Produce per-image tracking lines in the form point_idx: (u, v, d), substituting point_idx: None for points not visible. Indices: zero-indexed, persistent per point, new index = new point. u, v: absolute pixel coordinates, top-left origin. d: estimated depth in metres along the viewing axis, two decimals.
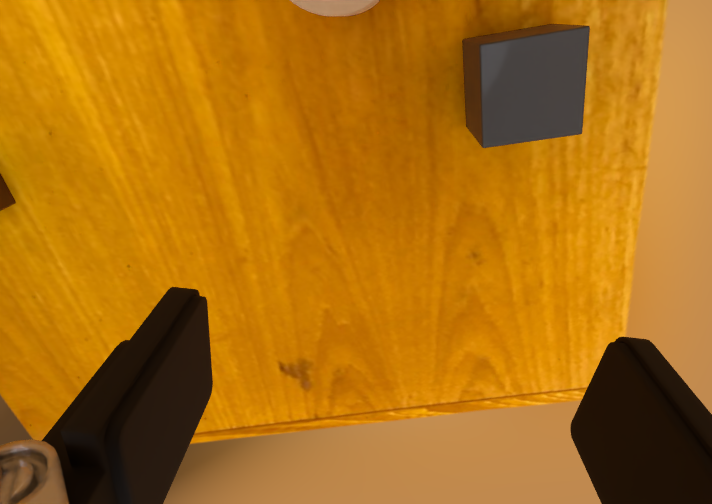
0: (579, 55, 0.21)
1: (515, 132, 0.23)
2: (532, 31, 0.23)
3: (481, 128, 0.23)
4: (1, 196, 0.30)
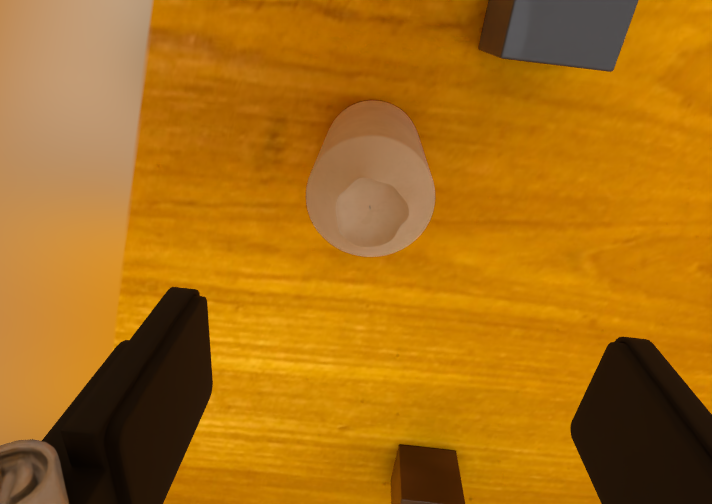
0: None
1: (614, 27, 0.19)
2: None
3: (589, 68, 0.20)
4: (448, 457, 0.38)
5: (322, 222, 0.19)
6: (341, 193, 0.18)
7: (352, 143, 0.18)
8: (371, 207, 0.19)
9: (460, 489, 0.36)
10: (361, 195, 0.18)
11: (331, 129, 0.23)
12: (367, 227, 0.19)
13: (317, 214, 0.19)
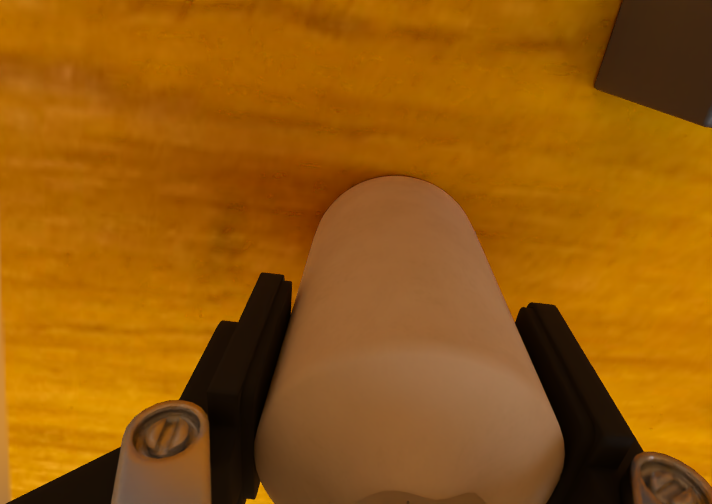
0: None
1: None
2: None
3: None
4: None
5: None
6: None
7: (365, 370, 0.07)
8: (411, 503, 0.08)
9: None
10: None
11: (319, 248, 0.12)
12: None
13: None
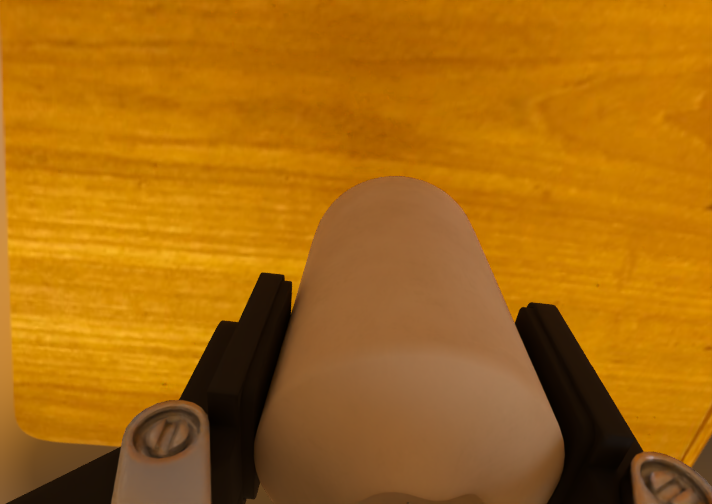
0: None
1: None
2: None
3: None
4: None
5: None
6: None
7: (365, 372, 0.07)
8: None
9: None
10: None
11: (319, 248, 0.12)
12: None
13: None
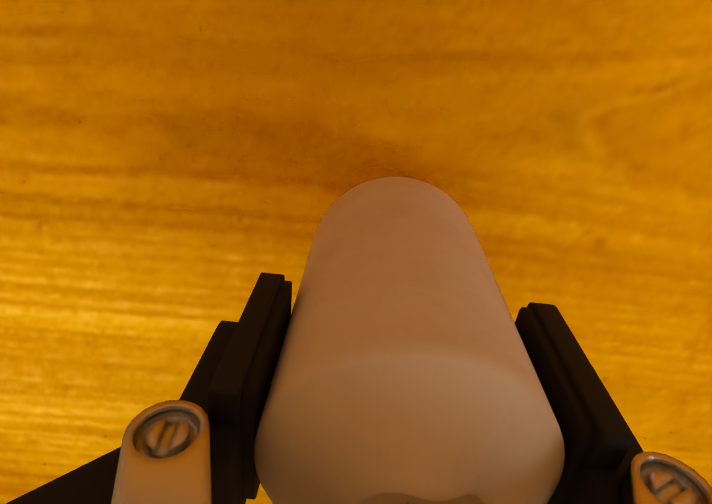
0: None
1: None
2: None
3: None
4: None
5: None
6: None
7: (365, 372, 0.07)
8: None
9: None
10: None
11: (319, 249, 0.12)
12: None
13: None
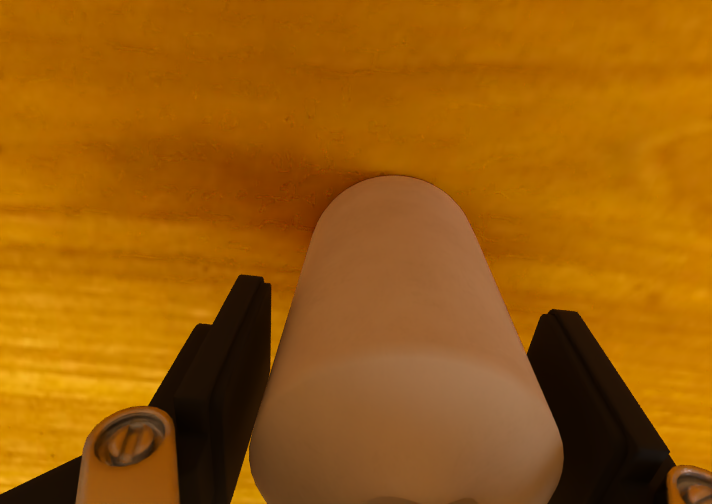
0: None
1: None
2: None
3: None
4: None
5: None
6: None
7: (362, 373, 0.07)
8: None
9: None
10: None
11: (317, 248, 0.12)
12: None
13: None
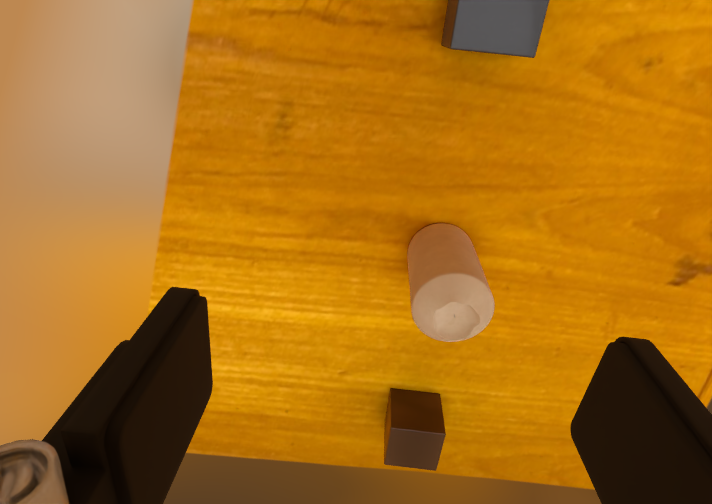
0: None
1: (532, 24, 0.25)
2: None
3: (517, 55, 0.26)
4: (432, 399, 0.44)
5: (422, 323, 0.30)
6: (438, 309, 0.29)
7: (444, 278, 0.29)
8: (454, 315, 0.30)
9: (442, 422, 0.42)
10: (449, 308, 0.29)
11: (418, 251, 0.34)
12: (451, 327, 0.30)
13: (419, 318, 0.30)
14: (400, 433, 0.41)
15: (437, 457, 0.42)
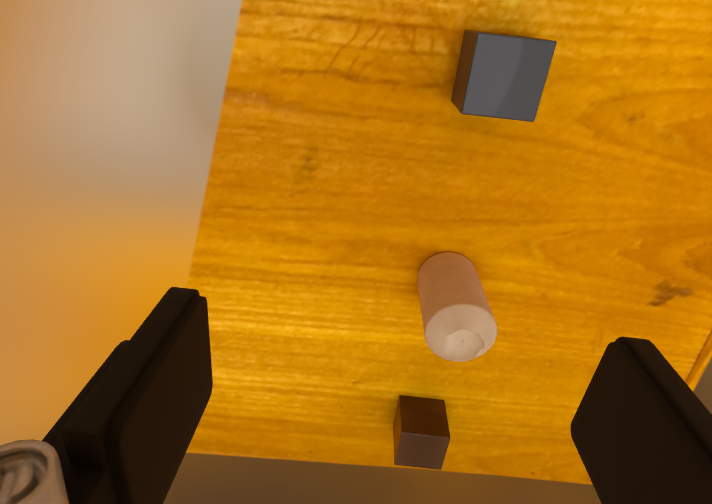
0: (495, 41, 0.28)
1: (532, 95, 0.29)
2: (465, 62, 0.31)
3: (518, 119, 0.30)
4: (437, 405, 0.49)
5: (434, 346, 0.34)
6: (448, 335, 0.33)
7: (454, 308, 0.33)
8: (462, 339, 0.34)
9: (446, 426, 0.46)
10: (458, 334, 0.34)
11: (429, 279, 0.38)
12: (460, 349, 0.34)
13: (432, 342, 0.34)
14: (409, 437, 0.45)
15: (442, 458, 0.47)
